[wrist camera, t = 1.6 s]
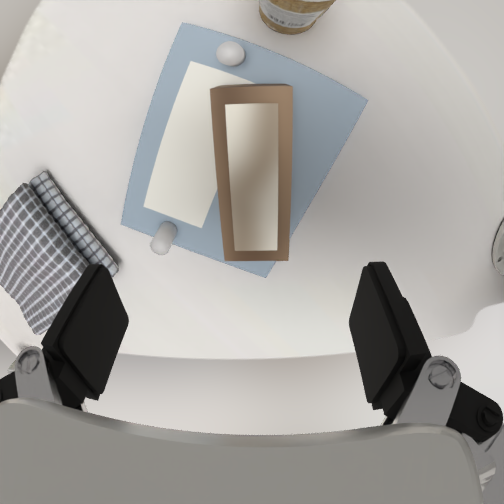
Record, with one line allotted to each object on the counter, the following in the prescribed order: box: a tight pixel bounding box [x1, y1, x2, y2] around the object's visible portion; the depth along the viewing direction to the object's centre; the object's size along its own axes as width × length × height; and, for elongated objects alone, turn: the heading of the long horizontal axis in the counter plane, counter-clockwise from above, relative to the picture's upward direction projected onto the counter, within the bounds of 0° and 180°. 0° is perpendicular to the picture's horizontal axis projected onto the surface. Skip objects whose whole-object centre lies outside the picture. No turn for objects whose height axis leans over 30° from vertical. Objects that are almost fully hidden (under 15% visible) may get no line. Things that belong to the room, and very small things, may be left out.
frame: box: [210, 84, 293, 261], centre depth 21 cm, size 5×13×5 cm, turn 2°
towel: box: [0, 171, 119, 335], centre depth 28 cm, size 15×18×8 cm
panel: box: [121, 22, 368, 278], centre depth 22 cm, size 16×20×4 cm
